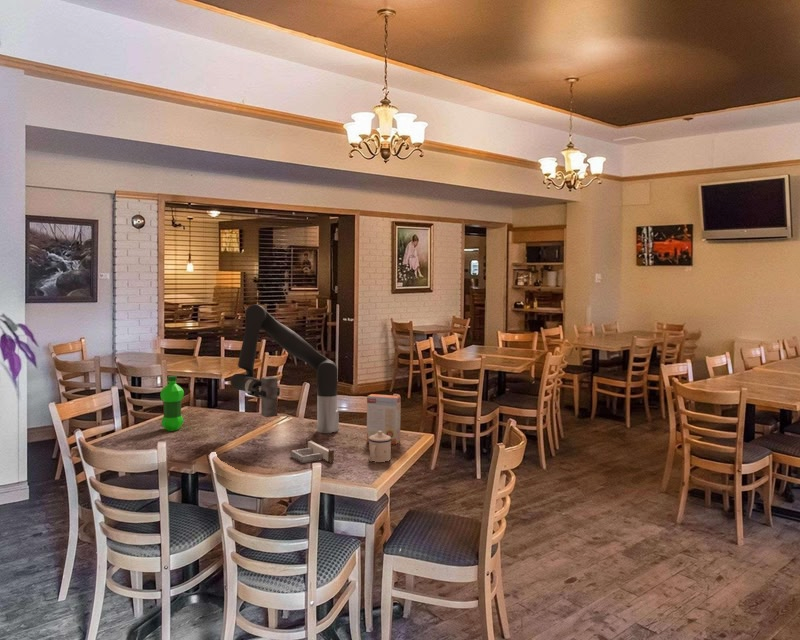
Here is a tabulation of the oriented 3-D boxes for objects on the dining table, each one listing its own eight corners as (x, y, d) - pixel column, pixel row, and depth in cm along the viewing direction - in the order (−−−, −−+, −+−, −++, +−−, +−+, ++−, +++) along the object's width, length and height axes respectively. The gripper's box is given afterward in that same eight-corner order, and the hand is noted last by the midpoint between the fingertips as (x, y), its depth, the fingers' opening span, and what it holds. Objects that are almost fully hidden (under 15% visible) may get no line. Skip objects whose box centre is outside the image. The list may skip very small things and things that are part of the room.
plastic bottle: (160, 432, 284) (159, 378, 282) (162, 427, 294) (161, 375, 292) (183, 431, 286) (182, 377, 285) (184, 426, 296) (184, 374, 295)
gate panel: (307, 450, 258) (307, 441, 258) (313, 450, 259) (313, 440, 259) (328, 461, 243) (328, 451, 243) (333, 460, 245) (333, 450, 245)
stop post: (272, 413, 263) (272, 376, 261) (277, 416, 259) (277, 378, 257) (261, 415, 260) (261, 377, 259) (266, 417, 256) (266, 379, 255)
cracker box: (400, 442, 275) (401, 395, 273) (396, 445, 269) (396, 398, 268) (371, 439, 279) (371, 393, 278) (366, 442, 274) (366, 395, 272)
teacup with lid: (373, 455, 254) (374, 427, 253) (394, 458, 250) (394, 429, 250) (361, 463, 243) (361, 434, 242) (382, 466, 239) (383, 436, 238)
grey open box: (309, 449, 260) (309, 438, 260) (333, 462, 243) (333, 450, 242) (285, 453, 254) (285, 441, 254) (308, 467, 237) (309, 454, 236)
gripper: (240, 380, 266) (255, 386, 252) (271, 377, 274) (288, 383, 260) (240, 397, 266) (255, 404, 252) (271, 394, 275) (288, 401, 261)
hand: (271, 394), depth 256 cm, fingers closed on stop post, 5 cm apart
